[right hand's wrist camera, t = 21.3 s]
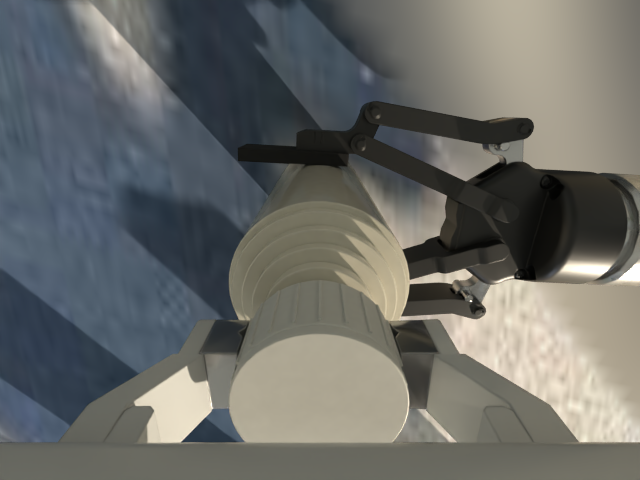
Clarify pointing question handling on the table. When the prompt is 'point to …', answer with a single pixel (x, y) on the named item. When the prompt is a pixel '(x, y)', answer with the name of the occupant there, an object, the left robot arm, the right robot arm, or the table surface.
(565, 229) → the left robot arm
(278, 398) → the cap
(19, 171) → the table surface
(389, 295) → the bottle
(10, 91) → the table surface
